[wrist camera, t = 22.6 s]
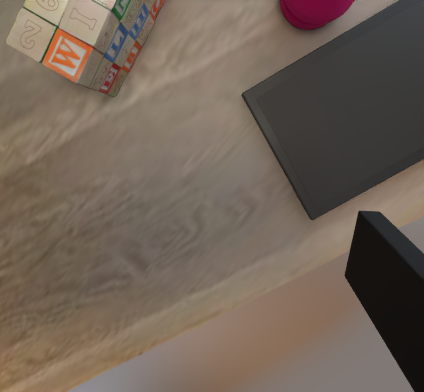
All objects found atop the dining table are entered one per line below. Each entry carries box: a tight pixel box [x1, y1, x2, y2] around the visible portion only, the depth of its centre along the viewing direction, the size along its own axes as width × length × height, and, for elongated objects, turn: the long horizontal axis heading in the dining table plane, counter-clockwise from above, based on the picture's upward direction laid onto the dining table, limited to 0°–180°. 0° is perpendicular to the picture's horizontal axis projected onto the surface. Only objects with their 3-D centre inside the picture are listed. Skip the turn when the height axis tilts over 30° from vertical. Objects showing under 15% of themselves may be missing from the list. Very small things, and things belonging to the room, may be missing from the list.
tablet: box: [242, 0, 424, 220], centre depth 41 cm, size 22×16×1 cm
